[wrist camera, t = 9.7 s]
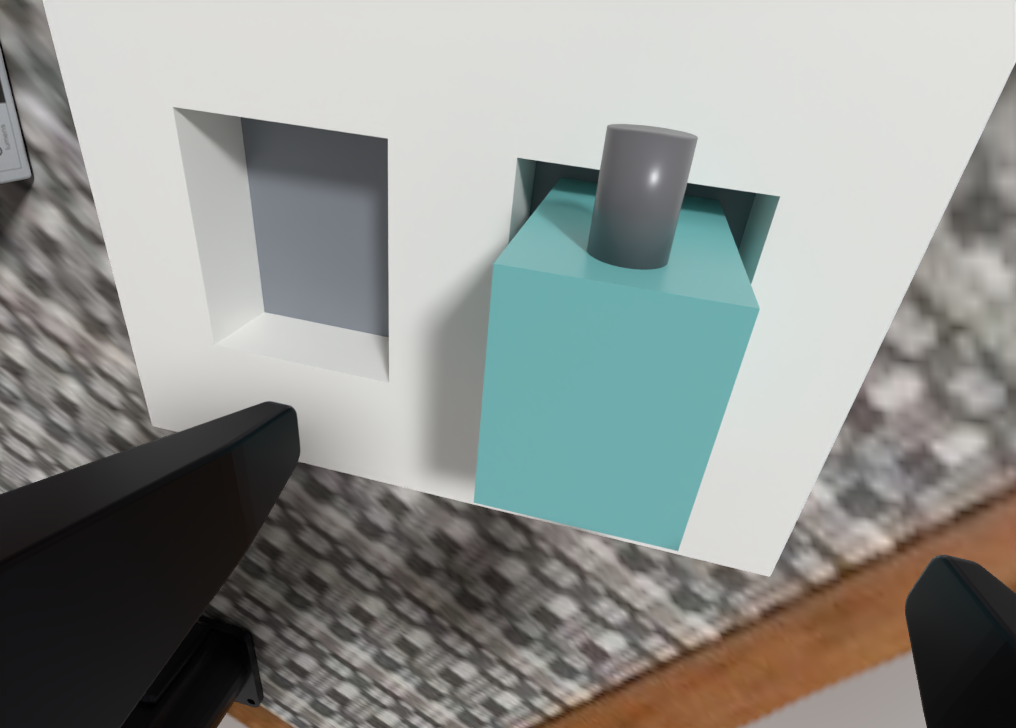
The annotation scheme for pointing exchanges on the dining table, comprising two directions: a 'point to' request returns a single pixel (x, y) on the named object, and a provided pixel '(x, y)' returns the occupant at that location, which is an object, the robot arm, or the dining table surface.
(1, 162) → the light bulb box
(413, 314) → the square hole tray
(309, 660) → the dining table surface
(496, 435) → the teal plug
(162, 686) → the robot arm
